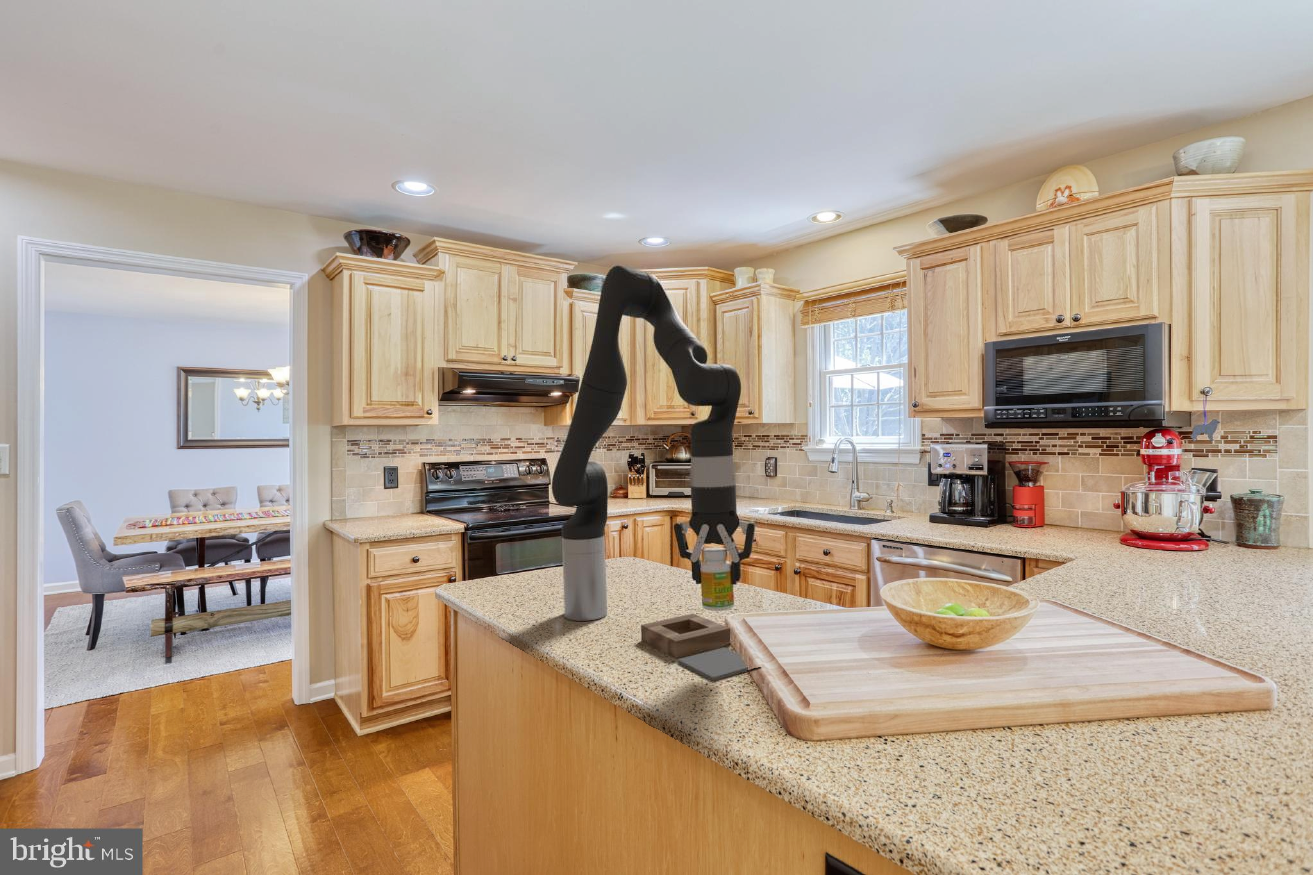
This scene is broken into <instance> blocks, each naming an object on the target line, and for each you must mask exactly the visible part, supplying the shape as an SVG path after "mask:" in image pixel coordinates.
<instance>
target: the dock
mask: <svg viewBox="0 0 1313 875" xmlns="http://www.w3.org/2000/svg"><path fill="white" fill-rule="evenodd" d="M640 632H641V633H640V635H641V638H640V639H641V642H643V643H645V644H648V645H649V646H652V647H653V648H655V649H657V650H659V651H661V652H663V653H665V654H667V655H669V656H671V657H672V658H675V659H681V658H685V657H689V656H692V655H696V654H700V653H704V652H708V651H710V650H709V649H711V650H714V649H713V648H715V647H719V648H721V647H720V646H722V645H726V646H728V645H727V644H729V642H730V635H731V627H729V626H726V625H723V624H720V623H718V622H716V621H714V620H710V619H708V618H705V617H702V616H700V615H698V614H696V613H688V614H684V615H679V616H675V617H670V618H667V619H662V620H658V621H651V622H648V623H645V624H644V623H643V624H640ZM722 647H723V646H722ZM715 649H716V648H715Z"/></svg>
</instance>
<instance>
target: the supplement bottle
mask: <svg viewBox="0 0 1313 875" xmlns="http://www.w3.org/2000/svg"><path fill="white" fill-rule="evenodd" d="M702 557H703V559H704V561H703V562H701V566H700V576H701V584H700V589H701V590H700V592H701V606H702V608H703V609H705V610H707V611H713V612H722V611H727V610H731V609H733V607H735V598H734V597H735V596H734V595H735V593H734V592H735V591H734V585H732V573H731V562H730V561H728V560H727V558H728V550H727V549H726V547H707V548H705V549H704V548H703V549H702Z"/></svg>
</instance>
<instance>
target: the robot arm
mask: <svg viewBox="0 0 1313 875" xmlns="http://www.w3.org/2000/svg"><path fill="white" fill-rule="evenodd" d="M623 316H625V317H631V318H635V319H642V320H644V321H646V322H648V323H649V324H650V325H651V326H652V327H653V328H654V329H653V330H654V331H653V344H654V347H655V349H656V351H657V353H658V355H659V356H660V358H661V359H662V360H663V362H664V363H665V364H666V365H667V366H668V368H669V369H670V370H671V373H672V376H673V379H674V380H673V381H674V382H675V386H676V390H677V393H678V395H679V397H680V399H681V400H683V402H685V403H687V404H688V405H691V406H694V407H711V408H710V412H709V414H708V417H706V419H702V420H699V421H696V422H694V423H693V424H692V425H691V427H690V456H691V458H690V459H691V460H690V471H689V472H690V473H689V474H690V477H689V483H690V497H691V499H690V500H691V506H690V507H691V516H690V519H689V520H686V521H676V523H674V525H673V530H674V534H675V539H676V544H677V547H678V549H677V550H678V553H679V556H680V558H682V559H686V560H689V561H690V562H691V563H690V564H691V579H692V581H695V584H696V585H701V576H700V566H701V564H702V560H701V558H700V556H701V554H702V553H703V550H704V547H705V546H706V545H711V544H717V545H724V548H725V549H727V553H728V554H729V556H730V559H731V562H730V563H731V573H732V585H733V586H735V585H738V582H740V580H741V579H742V566H741V565H742V563H741V562H742V561H744V560H747V559H749V558H750V557H751V554H752V550H753V545H754V544H753V543H754V538H755V534H756V533H755V532H756V525H757V524H756V522H755V521H754V520H751V521H745V520H740V517H739V516H738V513H737V512H738V510H737V491H736V490H737V488H736V487H737V486H736V466H735V461H734V441H733V432H734V431H733V429H734V424H735V420H736V418H737V417H736V416H737V411H738V407H739V403H740V399H741V394H742V382H741V378H740V374H739V373H738V371H737V370H736V369H735V368H734V366H732V365H730V364H724V363H717V364H716V363H708V357H709V356H708V352H707V350H706V347H705V346H704V344H702V342H701V341H700V340H699V339H698V338H697V336H695V334H694V333H693V332H692V331H691V330H690V329H689V328H688V326H687V325H686V324H685V323H684V321H683V319H681V317H680V316H679V314H678V311H677V310H676V308H675V306H674V304H673V302H672V300H671V299H670V297H669V295H668V293H667V291H666V289H665V288H664V285H663V284H662V282H661V281H660V279H658V277H657V276H656V275H654V274H652V273H650V272H646V271H642V270H639V269H635V268H632V267H628V266H623V265H614V266H612V268H610V269H609V270H608V273H607V274H606V275H605V278H604V280H603V283H602V287H601V291H600V298H599V303H598V308H597V315H596V320H595V326H594V330H593V331H594V332H593V336H592V342H591V345H590V350H589V354H588V358H587V361H586V366H585V369H584V372H583V375H582V378H581V382H580V385H579V386H580V387H579V391H578V394H577V398H576V399H577V400H576V403H575V408H574V411H573V414H572V419H571V422H570V425H569V428H568V432H567V435H566V439H565V440H564V443H563V444H564V445H563V446H562V449H561V452H560V454H559V458H558V460H557V463H556V465H555V468H554V470H553V476H552V479H551V492H552V493H551V494H552V496H553V498H554V500H555V502H556V503H557V504H558V505H559V506H561V507H567V508H568V507H571V508H572V507H576V509H575V511H574V514H573V515H572V516H571V517H570V518H568V520H566V521H564V522H563V524H562V526H561V550H562V552H561V553H562V577H563V578H562V579H563V603H564V604H563V606H564V617H565V618H566V619H567V620H570V621H578V622H579V621H580V622H581V621H582V622H583V621H584V622H586V621H595V620H597V619H598V620H600V619H602V618H604V617H606V616H607V615H608V601H607V600H608V598H607V596H608V595H607V569H606V568H607V567H606V565H607V564H606V563H607V562H606V544H605V541H606V540H605V539H606V538H605V528H606V524H607V521H608V505H609V504H608V501H609V500H608V499H609V498H608V497H609V495H608V494H609V493H608V492H609V487H608V479H607V474H606V471H605V470H604V468H603V466H602V465H601V464H599V463H597V462H595V461H590V459H591V455H592V452H593V450H594V448H595V447H596V446H597V444H598V442H599V441H600V439H601V438H602V437H603V436H604V435H605V433H606V432H607V431H609V430H608V429H609V428H610V427H611V426H612V425H613V423H614V422H615V420H616V419H617V418H618V416H619V414H620V411H621V408H622V404H623V401H624V399H625V395H626V391H627V386H628V378H627V377H628V375H627V372H626V367H625V363H624V361H623V357H622V354H621V350H620V344H619V334H620V329H621V328H620V327H621V322H622V319H623ZM689 528H691V530H692V531H693V532H694V534H695V535H696V536H697V538H696V541H695V543H694V547H693V550H690V549H689V548H690V547H689V544H688V539H687V535H686V534H688V533H689ZM738 528H741V533H742V534H743V535H744V536H745V539H744V546H743V550H741V551H739V549H738V546H737V543H736V541H735V538H734V536H733V535H734V534H735V532H736V531H737V529H738Z"/></svg>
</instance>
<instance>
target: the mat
mask: <svg viewBox="0 0 1313 875" xmlns="http://www.w3.org/2000/svg"><path fill="white" fill-rule="evenodd" d="M740 654H741V653H740V652H737V651H734V650H732V649H729V648H727V647H726V646H723V647H719V648H715V649H711V650H707V651H704V652H700V653H696V654H692V655H688V656H684V657H681V658H677V663H678V664H679V665H681V666H684V667H685V668H687V669H688V670H691V671H693V672H695V673H697V674H698V675H701V676H703V677H704V678H706V679H708V680H710V681H712V682H715V681H718V680H722V679H726V678H728V677H733V676H735V675H740V674H742V673H741V672H743V673H746V672H748V671H747V670H748V667H747V665H746V664H745V662H744V660H743V659H742V657H741V656H740Z"/></svg>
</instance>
